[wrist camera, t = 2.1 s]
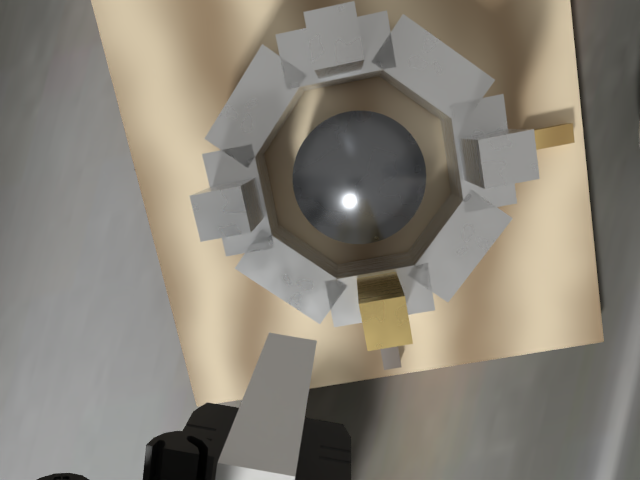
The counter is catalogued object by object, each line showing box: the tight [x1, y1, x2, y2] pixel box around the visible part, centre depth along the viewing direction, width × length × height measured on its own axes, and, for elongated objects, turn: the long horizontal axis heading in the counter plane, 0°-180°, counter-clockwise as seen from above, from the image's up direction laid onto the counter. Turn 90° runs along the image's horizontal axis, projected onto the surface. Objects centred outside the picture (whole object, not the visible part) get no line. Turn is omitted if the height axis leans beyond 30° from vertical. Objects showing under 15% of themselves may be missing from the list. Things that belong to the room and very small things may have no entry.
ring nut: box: [190, 1, 540, 351], centre depth 25 cm, size 14×14×7 cm
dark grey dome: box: [293, 111, 426, 244], centre depth 27 cm, size 6×6×4 cm
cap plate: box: [91, 0, 604, 407], centre depth 30 cm, size 24×24×2 cm
